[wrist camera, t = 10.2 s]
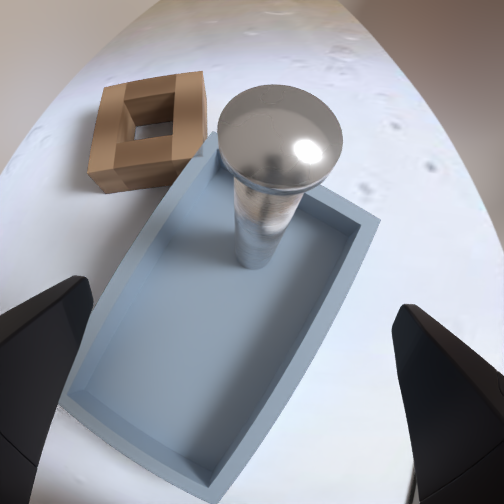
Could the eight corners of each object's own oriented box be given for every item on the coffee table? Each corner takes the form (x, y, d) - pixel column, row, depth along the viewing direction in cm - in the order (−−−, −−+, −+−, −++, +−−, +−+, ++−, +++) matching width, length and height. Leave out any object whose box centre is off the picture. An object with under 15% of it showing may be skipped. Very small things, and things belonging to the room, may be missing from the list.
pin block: (208, 181, 22) (203, 156, 19) (106, 193, 22) (87, 173, 19) (206, 99, 24) (202, 71, 21) (117, 112, 24) (103, 87, 21)
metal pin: (257, 286, 20) (293, 212, 7) (218, 253, 20) (190, 134, 7) (289, 248, 20) (363, 130, 8) (250, 217, 21) (270, 69, 8)
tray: (219, 482, 17) (215, 506, 14) (75, 389, 19) (49, 396, 15) (362, 236, 22) (380, 220, 18) (216, 157, 23) (212, 131, 20)
